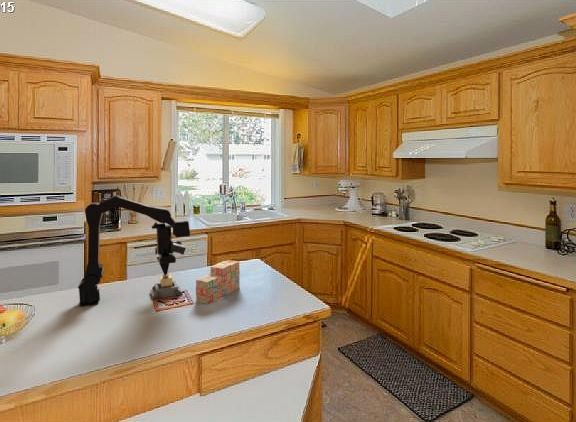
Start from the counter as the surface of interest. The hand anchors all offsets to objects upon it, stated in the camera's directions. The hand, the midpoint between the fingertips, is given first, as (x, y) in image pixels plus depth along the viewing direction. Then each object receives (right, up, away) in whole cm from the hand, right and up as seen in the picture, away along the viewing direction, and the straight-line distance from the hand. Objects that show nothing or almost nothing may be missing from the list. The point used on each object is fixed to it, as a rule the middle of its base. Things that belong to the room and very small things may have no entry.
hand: (165, 274), depth 154 cm
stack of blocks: (+22, -9, +1) cm, 24 cm away
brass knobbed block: (0, -7, +1) cm, 7 cm away
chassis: (0, -8, +1) cm, 8 cm away
